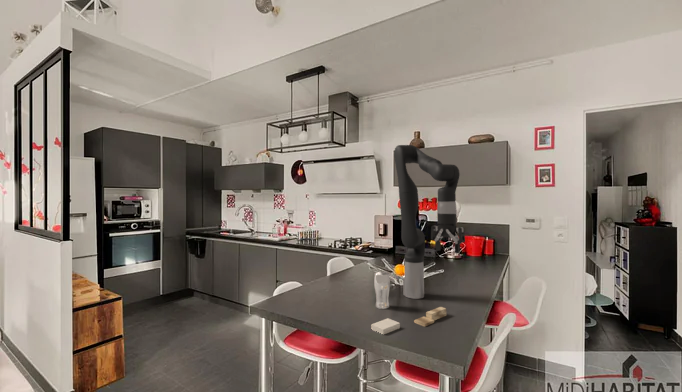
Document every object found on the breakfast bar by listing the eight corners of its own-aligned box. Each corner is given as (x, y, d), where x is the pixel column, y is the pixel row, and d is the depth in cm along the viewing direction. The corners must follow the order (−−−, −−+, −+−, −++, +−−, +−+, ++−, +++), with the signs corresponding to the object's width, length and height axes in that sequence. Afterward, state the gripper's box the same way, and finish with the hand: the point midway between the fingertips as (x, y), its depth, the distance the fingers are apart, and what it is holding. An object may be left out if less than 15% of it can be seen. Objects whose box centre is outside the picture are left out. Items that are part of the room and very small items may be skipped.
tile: (387, 324, 120) (371, 330, 114) (387, 318, 120) (371, 324, 114) (399, 329, 115) (383, 336, 110) (399, 323, 115) (383, 329, 110)
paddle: (438, 313, 130) (438, 306, 130) (449, 316, 126) (448, 309, 126) (414, 322, 120) (413, 315, 120) (424, 326, 116) (424, 318, 116)
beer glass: (372, 308, 136) (372, 274, 137) (376, 303, 143) (376, 271, 143) (388, 310, 134) (387, 275, 134) (391, 305, 140) (391, 272, 141)
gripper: (426, 212, 131) (427, 250, 131) (457, 213, 120) (458, 255, 120) (437, 211, 136) (437, 248, 136) (467, 212, 125) (468, 252, 124)
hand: (447, 251), depth 128 cm, fingers open, 8 cm apart
